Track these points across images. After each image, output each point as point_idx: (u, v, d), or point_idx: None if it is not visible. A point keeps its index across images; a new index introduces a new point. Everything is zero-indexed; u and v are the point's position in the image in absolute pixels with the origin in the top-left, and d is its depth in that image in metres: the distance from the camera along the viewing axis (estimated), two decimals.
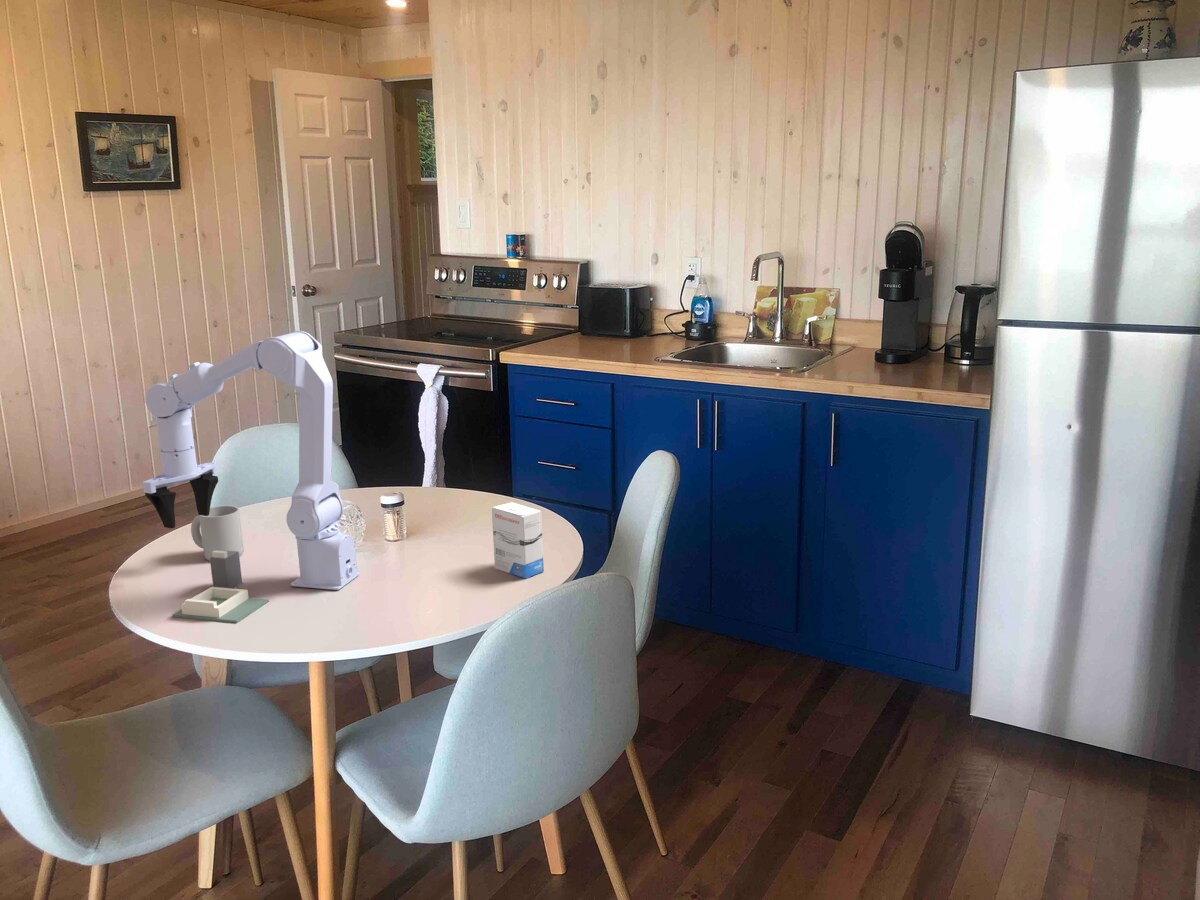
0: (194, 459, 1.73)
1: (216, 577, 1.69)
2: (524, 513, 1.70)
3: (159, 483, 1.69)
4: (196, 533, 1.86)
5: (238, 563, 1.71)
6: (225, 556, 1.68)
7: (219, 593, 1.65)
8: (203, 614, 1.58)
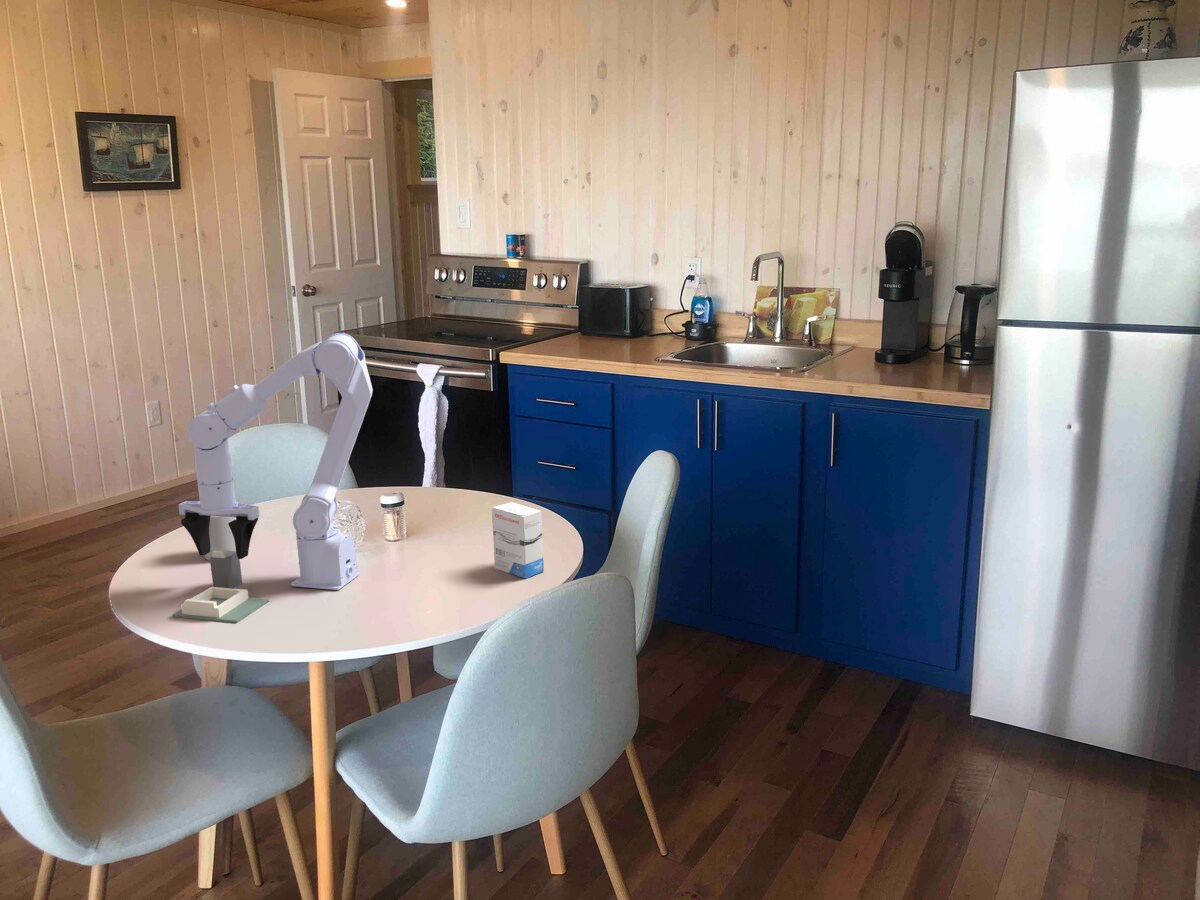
0: (213, 496, 1.64)
1: (216, 577, 1.69)
2: (524, 513, 1.70)
3: (186, 508, 1.68)
4: None
5: (238, 563, 1.71)
6: (225, 556, 1.68)
7: (219, 593, 1.65)
8: (203, 614, 1.58)
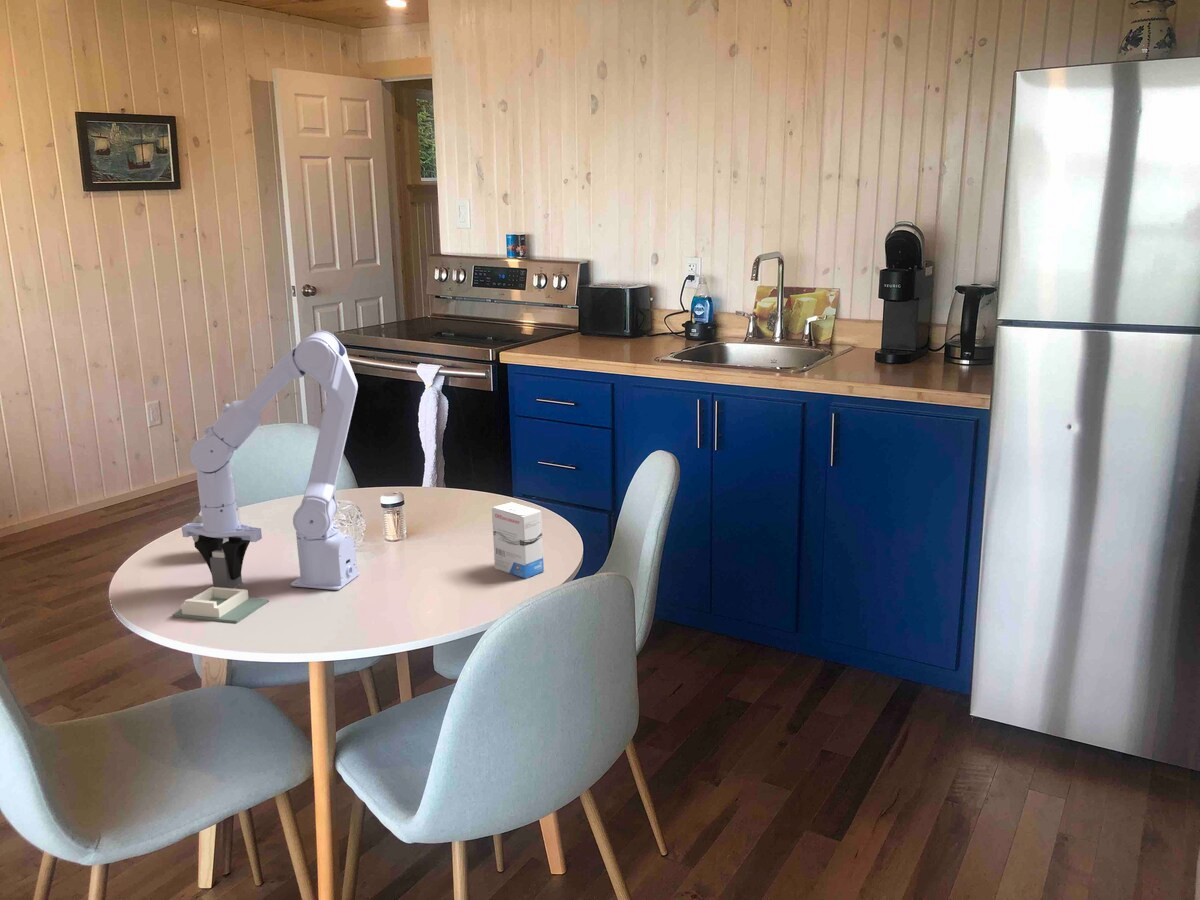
0: (216, 519, 1.65)
1: (216, 577, 1.69)
2: (524, 513, 1.70)
3: (189, 530, 1.69)
4: None
5: None
6: (225, 556, 1.68)
7: (219, 593, 1.65)
8: (203, 614, 1.58)
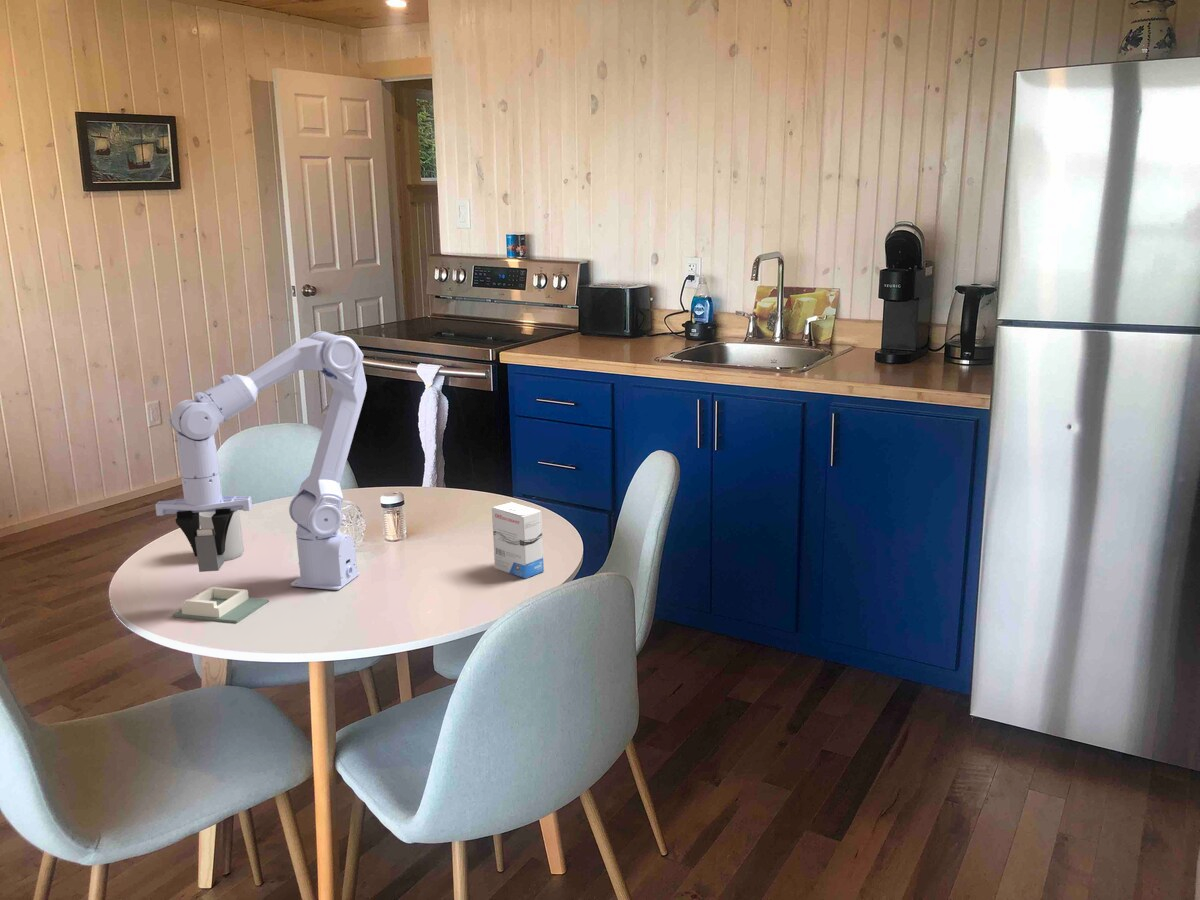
0: (205, 490, 1.55)
1: (202, 557, 1.58)
2: (524, 513, 1.70)
3: (165, 507, 1.56)
4: None
5: None
6: (212, 533, 1.58)
7: (219, 593, 1.65)
8: (203, 614, 1.58)
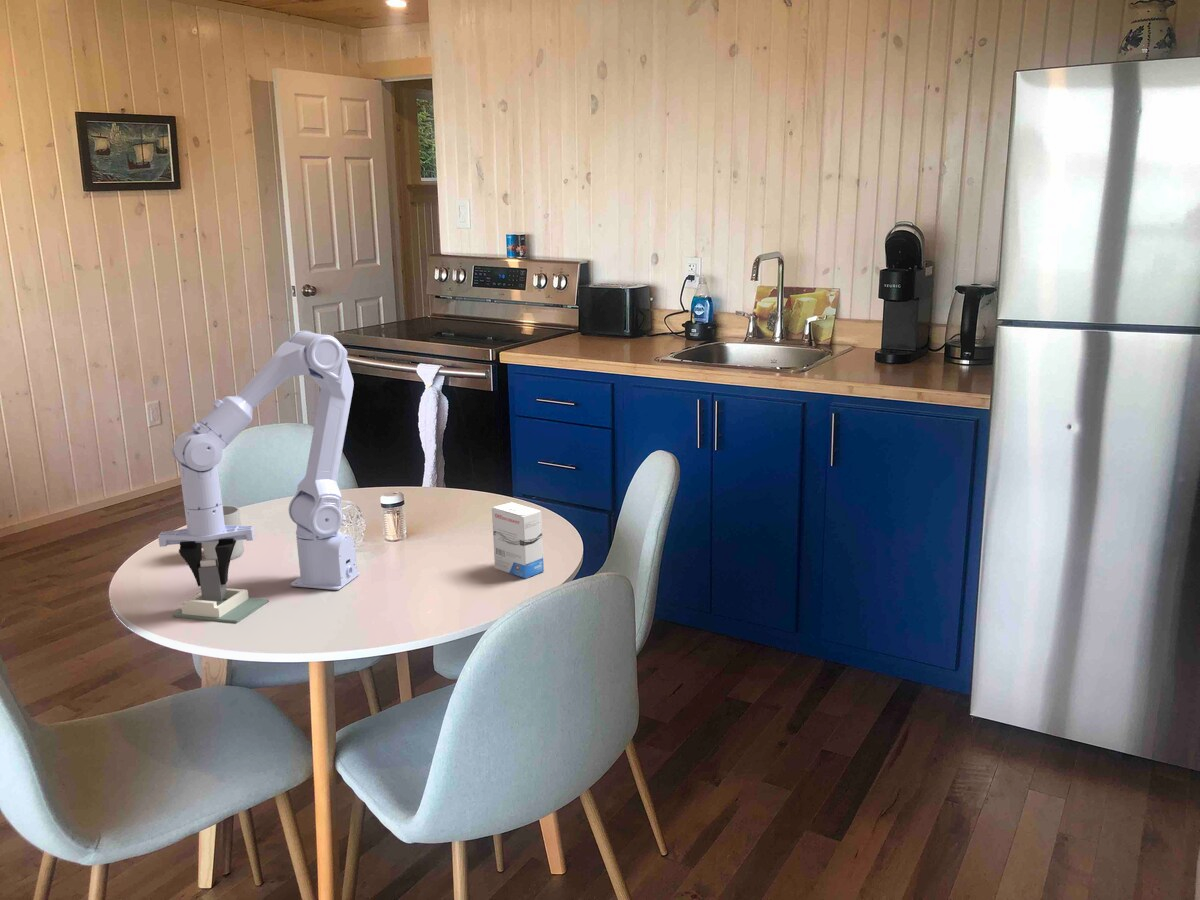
0: (209, 521, 1.55)
1: (206, 588, 1.59)
2: (524, 513, 1.70)
3: (169, 538, 1.56)
4: None
5: None
6: (216, 563, 1.59)
7: None
8: (203, 614, 1.58)
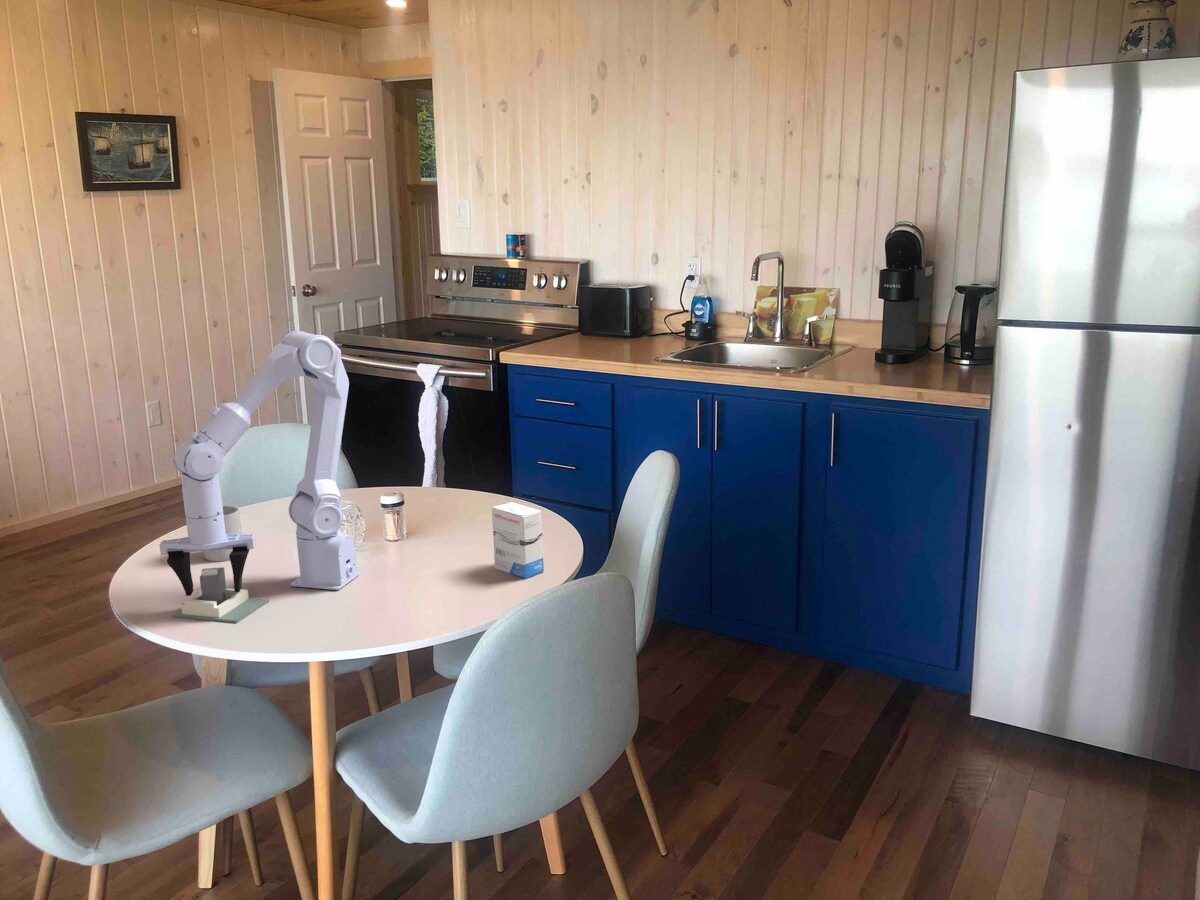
0: (210, 530, 1.56)
1: (207, 597, 1.59)
2: (524, 513, 1.70)
3: (170, 546, 1.57)
4: None
5: (224, 579, 1.62)
6: (217, 573, 1.59)
7: None
8: (203, 614, 1.58)
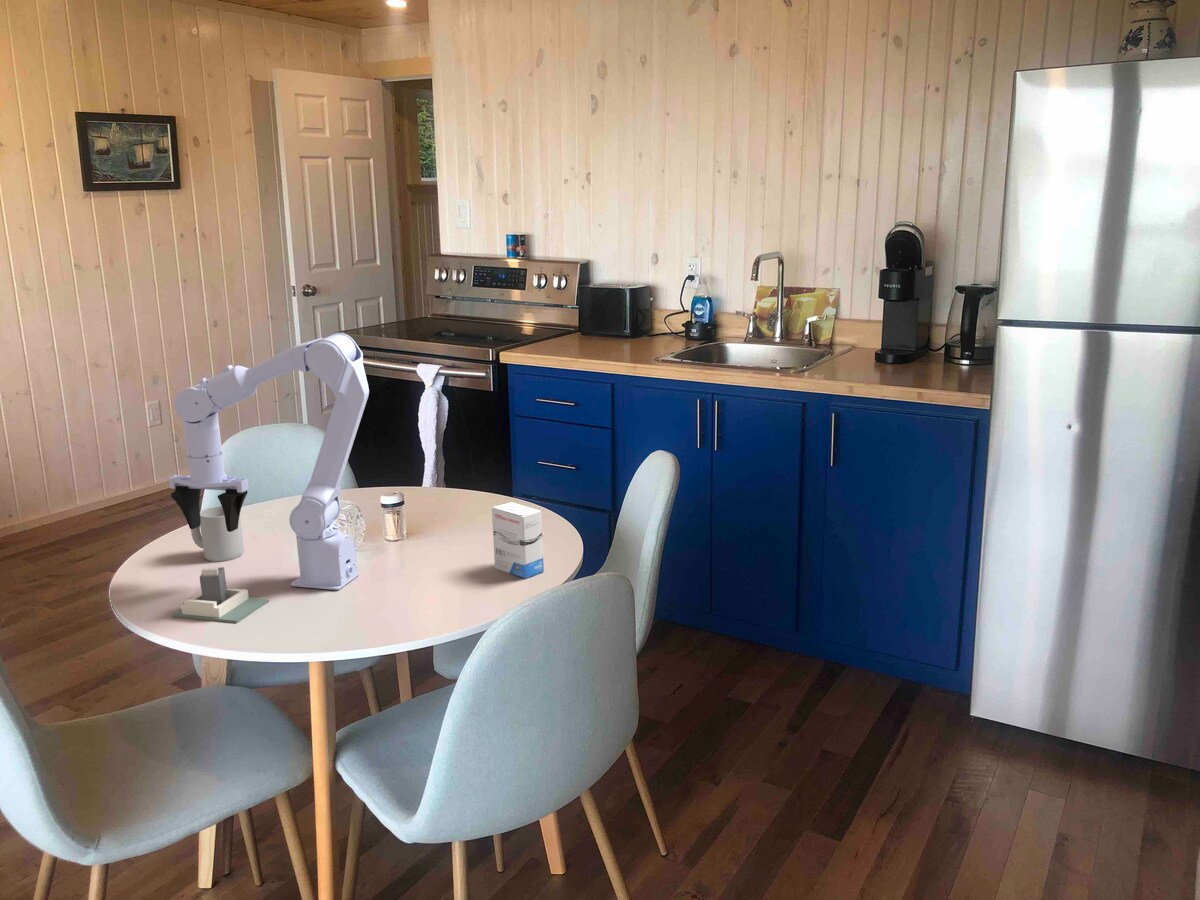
0: (202, 469, 1.66)
1: (207, 597, 1.59)
2: (524, 513, 1.70)
3: (176, 481, 1.69)
4: (196, 533, 1.86)
5: (224, 579, 1.62)
6: (217, 573, 1.59)
7: None
8: (203, 614, 1.58)
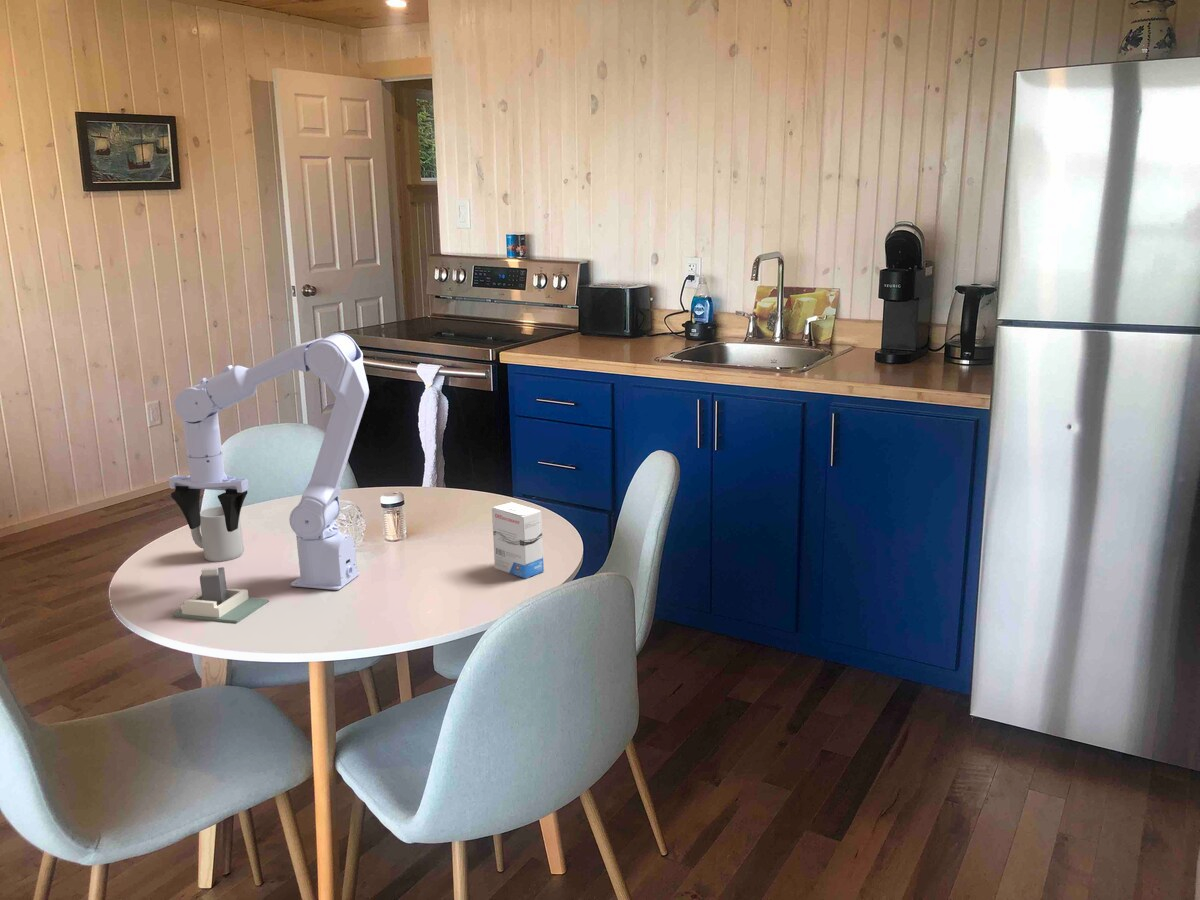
0: (202, 469, 1.66)
1: (207, 597, 1.59)
2: (524, 513, 1.70)
3: (176, 481, 1.69)
4: (196, 533, 1.86)
5: (224, 579, 1.62)
6: (217, 573, 1.59)
7: None
8: (203, 614, 1.58)
